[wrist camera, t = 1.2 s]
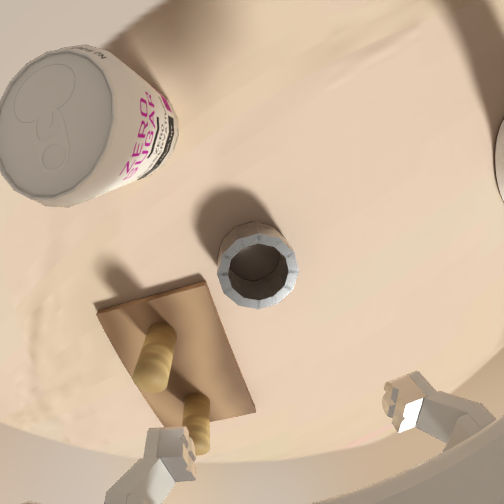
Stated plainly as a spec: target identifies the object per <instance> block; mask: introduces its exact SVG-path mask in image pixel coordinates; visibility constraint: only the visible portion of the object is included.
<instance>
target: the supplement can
mask: <svg viewBox="0 0 504 504" xmlns="http://www.w3.org/2000/svg"><path fill="white" fill-rule="evenodd" d="M178 136H179V131H178V118H177V115H176V113H175V111H174V109H173V106H172V104H171V103H170V102H169V101H168V100H167V99H166V98H165V97H164V96H163V95H162V94H161V93H159V92H158V91H157V90H156V89H155V88H153V87H152V86H151V85H150V84H149V83H147V82H146V81H145V80H144V79H143V78H141V77H140V76H139V75H138V74H137V73H135V72H134V71H133V70H132V69H130V68H129V67H128V66H127V65H125V64H124V63H123V62H122V61H120V60H119V59H118V58H117V57H115V56H114V55H113V54H112V53H110V52H109V51H106V50H103V49H100V48H96V47H93V46H89V45H80V46H72V47H65V48H61V49H59V50H55V51H50V52H46V53H44V54H42V55H41V56H39V57H37V58H35V59H34V60H32V61H30V62H29V63H27V64H26V65H25V66H24V67H23V68H22V69H21V70H20V71H19V72H18V73H17V75H16V76H15V77H14V78H13V79H12V80H11V81H10V83H9V85H8V86H7V88H6V90H5V92H4V94H3V96H2V98H1V100H0V172H1V174H2V176H3V177H4V178H5V179H6V181H7V182H8V183H9V184H10V186H11V187H12V188H13V189H14V190H15V191H17V192H19V193H20V194H22V195H24V196H26V197H28V198H30V199H32V200H35V201H37V202H39V203H41V204H43V205H45V206H53V207H71V206H74V205H77V204H79V203H82V202H85V201H88V200H90V199H93V198H95V197H98V196H100V195H102V194H105V193H107V192H109V191H112V190H114V189H117V188H119V187H121V186H124V185H126V184H129V183H131V182H134V181H136V180H139V179H142V178H144V177H147V176H149V175H152V174H153V173H154V172H156V171H157V170H158V169H160V168H161V167H162V166H164V165H165V163H166V162H167V160H168V159H169V158H170V156H171V155H172V153H173V152H174V149H175V146H176V142H177V139H178Z"/></svg>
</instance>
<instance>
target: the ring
mask: <svg viewBox="0 0 504 504" xmlns="http://www.w3.org/2000/svg"><path fill="white" fill-rule="evenodd" d="M255 244H263V245H267V246H272V247H275V248H276V249H277V250H278V251H279V252H280V255H281V256H280V259H279V263H278V266H277V269H276V270H274V271H273V272H272V273H271V274H270V275H269V276H268V277H267V278H264V279H260V280H257V281H250V280H246V279H241V278H240V277H239V276H237V275H236V274H235V273H234V272H233V271H232V270H231V268H230V263H231V259H232V258H233V257H234V256H235V255H236V254H237V253H238V252H239V251H240V250H241V249H242V248H245V247H248V246H252V245H255ZM298 273H299V270H298V266H297V261H296V257H295V253H294V251H293V250H292V248H291V246H290V245H289V243H288V242H287V240H286V239H285V238H284V237H283V236H282V235H281V234H280V233H279V232H278V231H277V230H276V229H275V228H274V227H273V226H271V225H267V224H263V223H258V222H250V223H247V224H243V225H240V226H236V227H235V228H234V229H233V230H232V231H231V232H230V233H229V234H228V235H227V236H226V237H225V238H224V239H223V240H222V243H221V247H220V251H219V256H218V269H217V275H218V278H219V281H220V284H221V287H222V290H223V293H224V294H225V295H227V296H228V297H229V298H230V299H231V300H233V301H234V302H235V303H236V304H238V305H239V306H244V307H249V308H255V309H261V308H264V307H268V306H271V305H275V304H278V303H279V302H280V301H281V300H282V299H284V298H285V297H286V296H287V295H288V294H289V293H290V292H291V291H292V290H293V288H294V285H295V282H296V279H297V276H298Z"/></svg>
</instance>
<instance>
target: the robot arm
mask: <svg viewBox="0 0 504 504" xmlns="http://www.w3.org/2000/svg"><path fill="white" fill-rule="evenodd" d="M495 165H496V176H497V182H498V187H499V190H500V194H501V196H502V199H503V201H504V120H503V122H502V124H501V126H500V129H499V133H498V137H497V142H496V153H495ZM384 390H385V391H386V393H385V394H384V396H383V400H382V404H383V409H384V411H385V413H386V415H387V416H389V417H391V418H393V419H392V424H393V426H394V427H395V429H396V430H397V432H398V433H400V432H402V431H405V430H408V429H410V428H413V427H415V426H416V428H418V429H420V430H422V431H424V432H426V433H428V434H430V435H431V436H433V437H435V438H437V439H439V440H441V441H443V442H445V443H447V444H446V447H445V448H444V450H443V453H441V454H439V455H437V456H435V457H433V458H431V459H429V460H428V461H425V462H423V463H421V464H419V465H417V466H415V467H413V468H410V469H408V470H406V471H403V472H401V473H399V474H396V475H394V476H392V477H389V478H387V479H384V480H382V481H379V482H376V483H374V484H371V485H368V486H366V487H363V488H360V489H357V490H354V491H351V492H348V493H345V494H342V495H338V496H335V497H331V498H328V499H325V500H321V501H317V502H313V503H309V504H504V415H502V416H501V417H500V418H498V419H496V418H495V417H494V416H493V415H492V414H491V413H490V412H489V411H488V409H486V407H485V406H484V405H483V404H481V403H478V402H474V401H471V400H467V399H464V398H461V397H457V396H454V395H451V394H448V393H445V392H442V391H438V392H437V391H436V390H435V389H434V388H433V387H432V386H431V385H430V384H429V382H428V381H427V380H426V379H425V378H424V377H423V376H422V375H421V374H420V372H418V371H415V372H412V373H410V374H407V375H404V376H402V377H399V378H396V379H394V380H391V381H388V382H386V384H385V387H384ZM195 460H196V452H195V446H194V443H193V440H192V438H190V437H189V431H188V429H187V427H186V426H180V427H161V428H149V430H148V431H147V438H146V444H145V450H144V457H143V458H140V459H139V460H138V461H137V462H136V463H135V464H134V465H133V466H132V467H131V468H130V469H129V470H128V471H127V472H126V473H125V474H124V475H123V476H122V477H121V478H120V479H119V480H118V481H117V482H116V483H115V484H114V485H113V486H112V487H111V488H110V489H109V490H108V491H107V492H106V497H105V502H104V504H162V502H163V501H164V499H165V498H166V496H167V495H168V494H169V492H170V491H171V489H172V488H173V486H174V485H175V483H176V482H180V481H194V480H196V467H195V465H194V463H193V462H194V461H195ZM22 504H39V503H36V502H31V501H27V502H24V503H22Z"/></svg>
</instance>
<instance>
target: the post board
mask: <svg viewBox="0 0 504 504" xmlns="http://www.w3.org/2000/svg"><path fill="white" fill-rule="evenodd" d="M96 315H97V317H98V319H99V321H100V323H101V325H102V327H103V329H104V331H105V333H106V334H107V336H108V338H109V340H110V342H111V344H112V345H113V347H114V349H115V351H116V352H117V354H118V356H119V358H120V359H121V361H122V363H123V364H124V366H125V368H126V369H127V371H128V373H129V374H130V376H131V378H132V379H133V381H134V383H135V384H136V386H137V387H138V389H139V390H140V392H141V393H142V395H143V396H144V398H145V399H146V401H147V402H148V404H149V405H150V407H151V408H152V410H153V411H154V413H155V414H156V416H157V417H158V418H159V420H160V421H161V423H162V424H163V425H164V427H180V426H186V427H187V429H188V431H189V437H190V438H192V440H193V443H194V446H195V452H196V455H203V454H206V453H207V452H208V451H209V449H210V422H212V421H217V420H222V419H227V418H232V417H237V416H242V415H246V414H251V413H255V412H256V409H255V405H254V403H253V400H252V398H251V396H250V393H249V391H248V388H247V386H246V384H245V381H244V379H243V376H242V374H241V371H240V369H239V366H238V364H237V362H236V359H235V357H234V354H233V351H232V349H231V346H230V344H229V341H228V339H227V336H226V334H225V331H224V328H223V326H222V323H221V321H220V318H219V315H218V313H217V310H216V307H215V305H214V302H213V299H212V297H211V294H210V291H209V288H208V286H207V283H206V281H203V282H200V283H196V284H193V285H189V286H185V287H182V288H178V289H175V290H171V291H167V292H164V293H160V294H156V295H153V296H149V297H146V298H142V299H138V300H135V301H131V302H127V303H123V304H120V305H116V306H112V307H109V308H105V309H101V310H99V311H98V313H97V314H96Z"/></svg>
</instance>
